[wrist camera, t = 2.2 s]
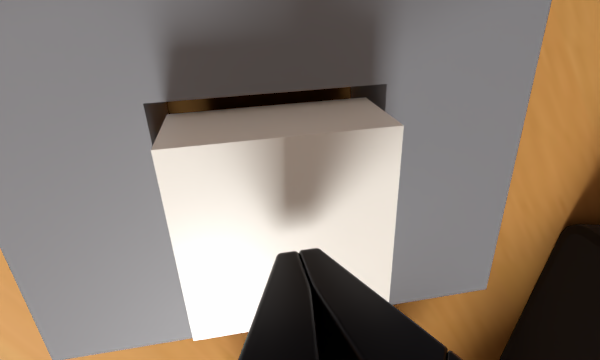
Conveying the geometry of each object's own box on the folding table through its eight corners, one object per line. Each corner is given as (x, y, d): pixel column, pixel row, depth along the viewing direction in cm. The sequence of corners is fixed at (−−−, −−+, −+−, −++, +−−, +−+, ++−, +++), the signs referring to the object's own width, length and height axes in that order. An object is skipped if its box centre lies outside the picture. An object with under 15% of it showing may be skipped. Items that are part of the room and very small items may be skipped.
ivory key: (365, 97, 10) (403, 125, 8) (359, 253, 12) (388, 308, 10) (167, 114, 9) (150, 149, 7) (198, 276, 12) (193, 340, 9)
